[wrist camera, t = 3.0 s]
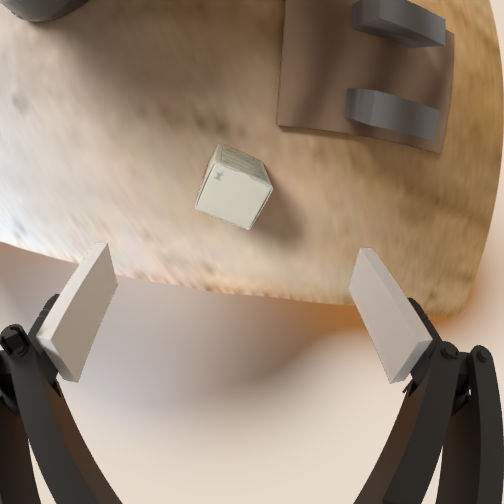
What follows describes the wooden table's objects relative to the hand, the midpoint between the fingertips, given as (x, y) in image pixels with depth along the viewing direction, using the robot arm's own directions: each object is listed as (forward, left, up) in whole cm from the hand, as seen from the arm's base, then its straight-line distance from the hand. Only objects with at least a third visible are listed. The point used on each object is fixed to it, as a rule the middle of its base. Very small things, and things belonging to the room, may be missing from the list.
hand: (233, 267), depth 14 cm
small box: (0, 0, -17) cm, 17 cm away
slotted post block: (+14, +13, -17) cm, 25 cm away
